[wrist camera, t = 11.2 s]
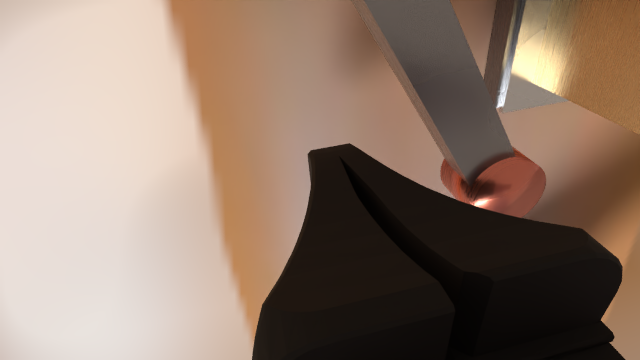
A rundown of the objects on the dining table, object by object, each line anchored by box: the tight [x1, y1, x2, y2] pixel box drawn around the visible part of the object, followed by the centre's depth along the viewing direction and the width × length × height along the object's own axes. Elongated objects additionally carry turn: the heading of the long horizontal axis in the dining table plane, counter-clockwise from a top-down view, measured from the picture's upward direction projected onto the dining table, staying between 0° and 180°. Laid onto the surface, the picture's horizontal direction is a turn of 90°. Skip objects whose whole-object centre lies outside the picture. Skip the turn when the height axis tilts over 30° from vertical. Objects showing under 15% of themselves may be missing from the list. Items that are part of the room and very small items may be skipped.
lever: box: [351, 0, 546, 218], centre depth 8 cm, size 13×3×2 cm, turn 35°
